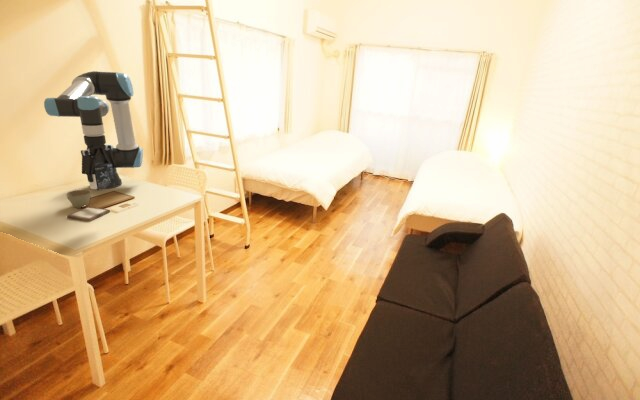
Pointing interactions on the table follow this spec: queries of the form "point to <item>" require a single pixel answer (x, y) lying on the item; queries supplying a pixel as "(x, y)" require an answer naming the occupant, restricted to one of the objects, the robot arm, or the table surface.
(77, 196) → the flower pot
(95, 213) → the board
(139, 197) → the table surface
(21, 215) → the table surface
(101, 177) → the box
